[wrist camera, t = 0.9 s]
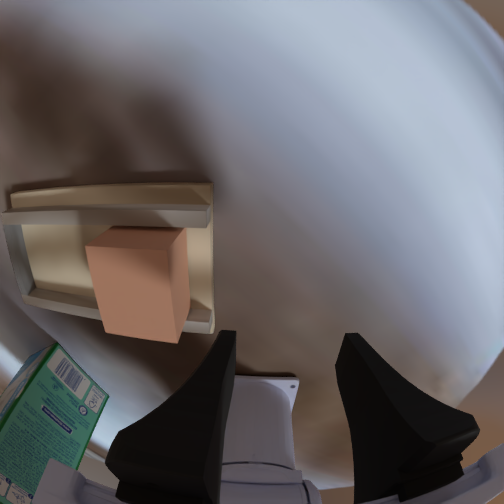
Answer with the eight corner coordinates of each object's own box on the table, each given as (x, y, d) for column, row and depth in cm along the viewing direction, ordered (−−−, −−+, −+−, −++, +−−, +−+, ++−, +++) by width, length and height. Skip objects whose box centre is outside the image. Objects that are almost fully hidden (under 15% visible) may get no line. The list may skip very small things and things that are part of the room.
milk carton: (74, 402, 29) (15, 538, 6) (29, 356, 26) (-52, 491, 2) (110, 396, 27) (47, 567, 4) (57, 341, 24) (-43, 515, 1)
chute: (214, 325, 21) (210, 346, 19) (41, 300, 22) (28, 314, 19) (213, 182, 17) (206, 190, 15) (17, 191, 17) (-2, 199, 15)
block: (190, 306, 19) (177, 343, 16) (127, 300, 19) (105, 332, 16) (186, 225, 17) (167, 250, 13) (116, 223, 17) (84, 245, 13)
